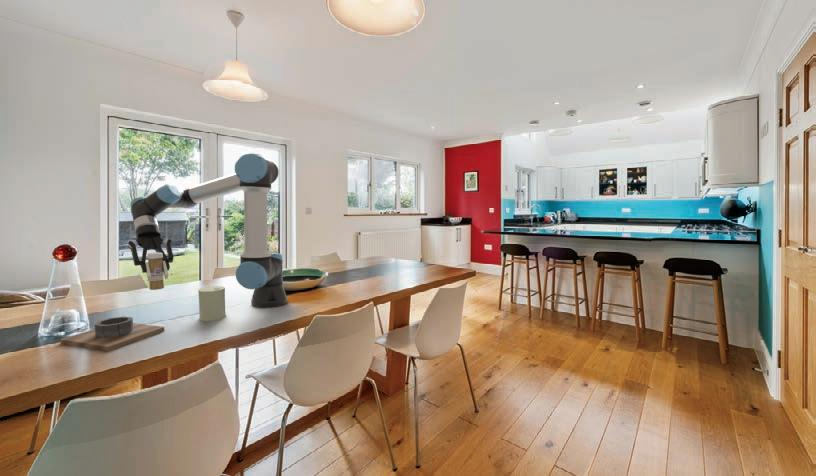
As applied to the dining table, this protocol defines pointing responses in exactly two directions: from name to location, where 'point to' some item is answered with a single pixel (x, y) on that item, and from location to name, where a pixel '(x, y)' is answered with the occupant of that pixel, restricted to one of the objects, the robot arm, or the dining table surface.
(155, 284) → the sprinkles bottle
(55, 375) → the dining table surface
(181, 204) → the robot arm
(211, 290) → the can
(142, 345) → the dining table surface
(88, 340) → the bottle holder
